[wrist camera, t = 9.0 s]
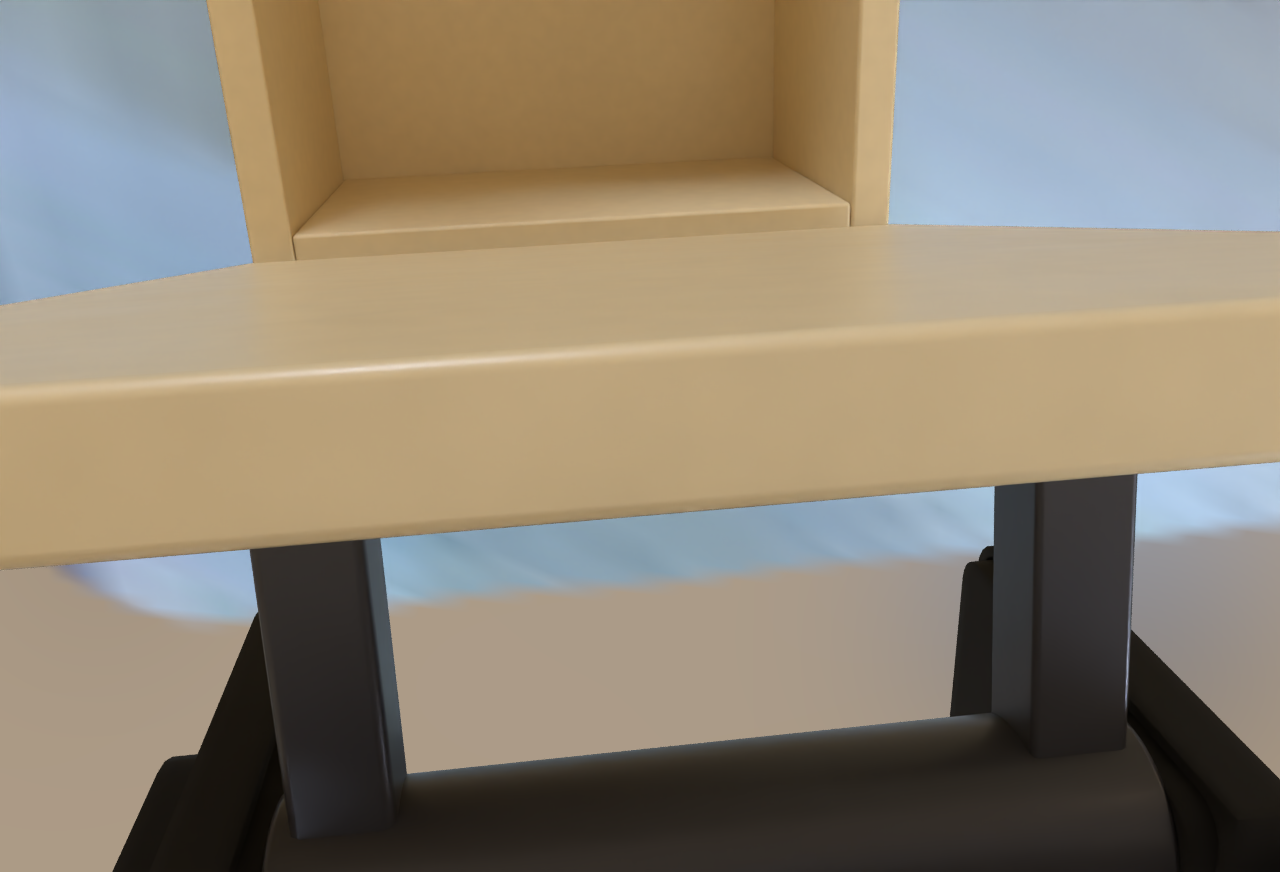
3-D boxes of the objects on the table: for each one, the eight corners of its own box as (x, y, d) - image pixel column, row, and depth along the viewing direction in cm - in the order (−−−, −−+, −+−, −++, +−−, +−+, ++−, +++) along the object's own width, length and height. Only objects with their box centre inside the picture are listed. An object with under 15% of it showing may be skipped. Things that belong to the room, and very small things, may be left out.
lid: (-858, 446, 4) (-506, 1435, 5) (2038, 245, 5) (1860, 1081, 6) (247, 263, 20) (279, 508, 21) (895, 223, 21) (897, 458, 22)
